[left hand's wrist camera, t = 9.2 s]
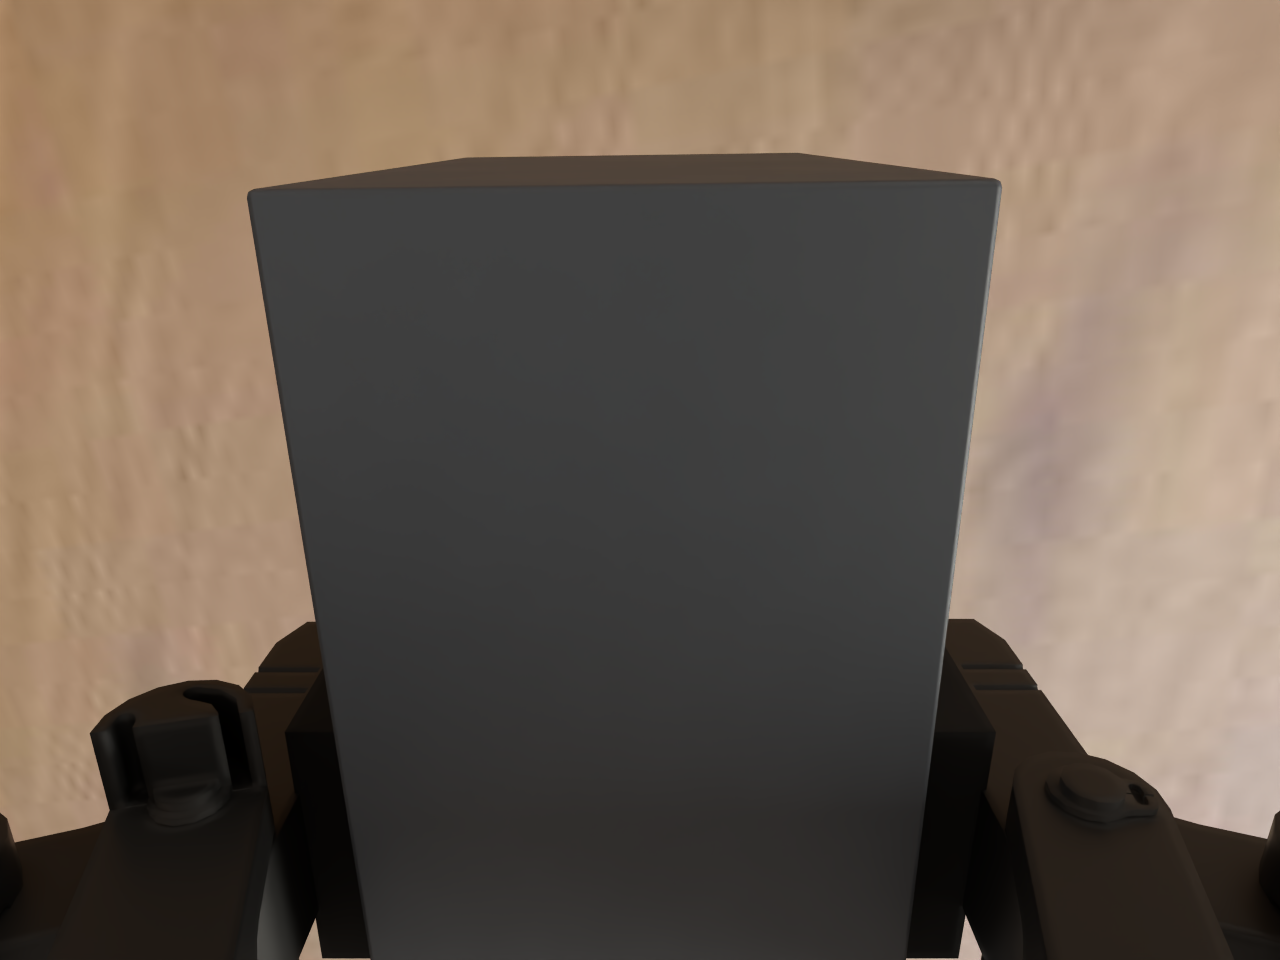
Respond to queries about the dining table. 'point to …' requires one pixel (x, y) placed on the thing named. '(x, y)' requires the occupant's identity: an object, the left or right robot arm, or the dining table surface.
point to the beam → (631, 538)
